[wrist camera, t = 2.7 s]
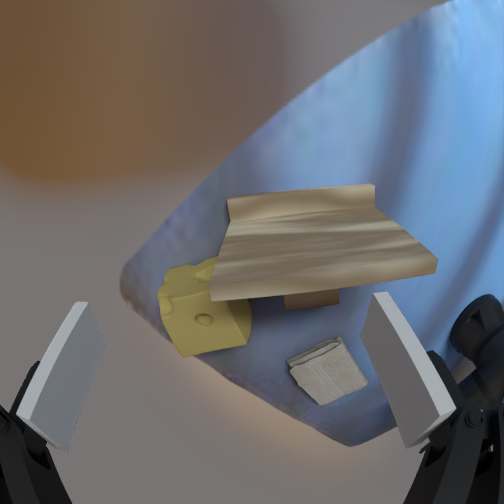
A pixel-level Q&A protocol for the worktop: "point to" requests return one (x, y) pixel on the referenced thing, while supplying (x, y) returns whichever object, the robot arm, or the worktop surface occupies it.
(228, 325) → the cheese
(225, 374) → the worktop surface
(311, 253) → the wall board
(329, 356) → the washcloth
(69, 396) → the robot arm
